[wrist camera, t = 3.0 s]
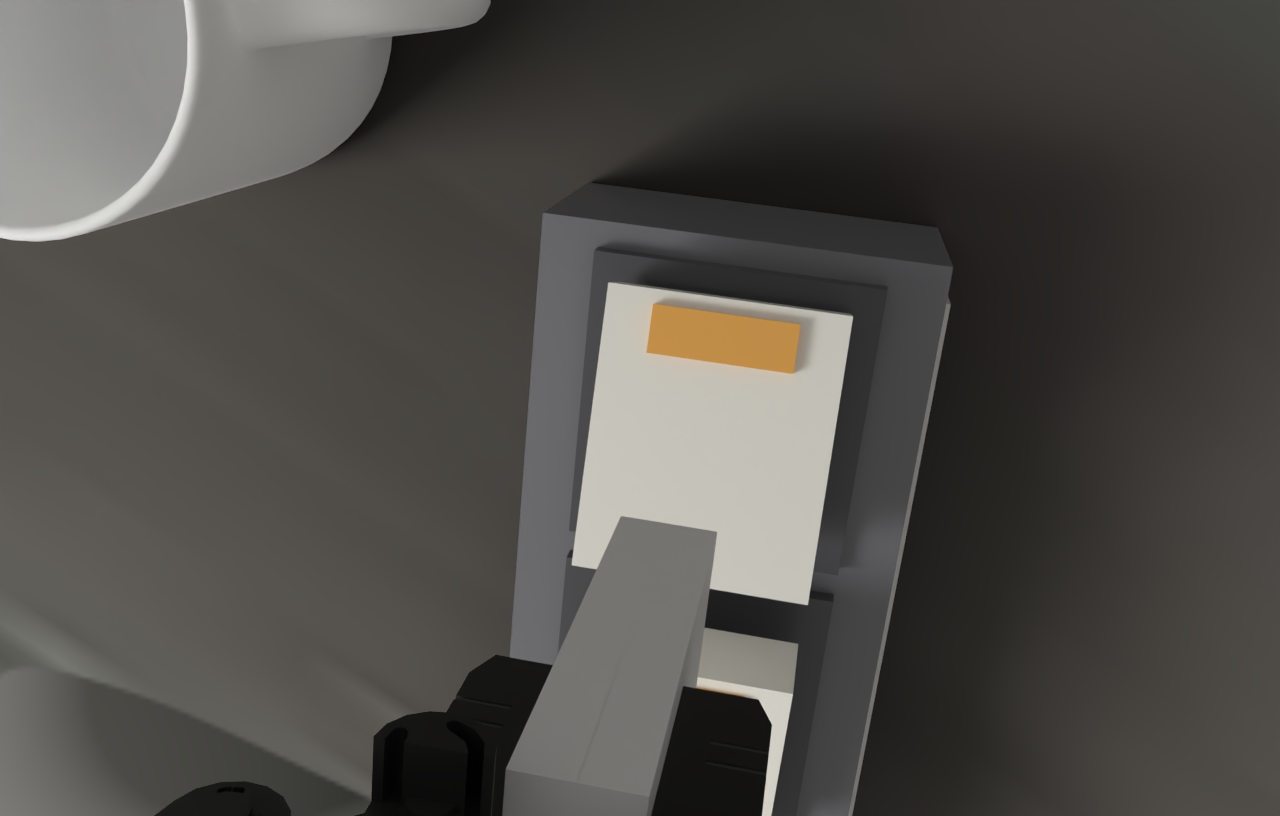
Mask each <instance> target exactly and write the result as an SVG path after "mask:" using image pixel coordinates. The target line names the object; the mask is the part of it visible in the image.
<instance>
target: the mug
mask: <svg viewBox="0 0 1280 816" xmlns="http://www.w3.org/2000/svg"><path fill="white" fill-rule="evenodd" d="M490 4H491V0H0V238H4V239H10V240H20V241H49V240H59V239H65V238H69V237H73V236H77V235H82V234H86V233H89V232H93V231H96V230H99V229H103V228H106V227H110V226H113V225H116V224H120V223H123V222H127V221H130V220H134V219H137V218H140V217H144V216H147V215H151V214H154V213H157V212H161V211H164V210H168V209H171V208H175V207H178V206H181V205H185V204H188V203H192V202H195V201H198V200H202V199H205V198H209V197H212V196H216V195H219V194H222V193H226V192H229V191H233V190H236V189H239V188H243V187H246V186H250V185H253V184H257V183H260V182H263V181H267V180H270V179H274V178H277V177H280V176H283V175H286V174H289V173H292V172H294V171H297V170H299V169H301V168H304V167H306V166H308V165H311V164H313V163H315V162H316V161H318V160H320V159H321V158H323V157H325V156H326V155H328V154H330V153H331V152H332V151H333V150H334V149H336V148H337V147H338V146H339V145H340V144H342V143H343V142H344V141H345V140H347V139H348V138H349V137H350V136H351V134H352V133H353V132H354V131H355V130H356V129H357V128H358V127H359V126H360V124H361V123H362V122H363V120H364V119H365V117H366V116H367V114H368V113H369V111H370V110H371V108H372V107H373V105H374V102H375V100H376V98H377V96H378V94H379V92H380V90H381V87H382V84H383V81H384V78H385V75H386V72H387V68H388V63H389V58H390V53H391V45H392V36H400V35H409V34H417V33H425V32H432V31H440V30H447V29H453V28H459V27H464V26H467V25H470V24H473V23H476V22H477V21H478V20H480V19H481V18H482V17H483V16H484V15H485V14H486V12H487V10H488V8H489V6H490Z"/></svg>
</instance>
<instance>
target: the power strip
mask: <svg viewBox="0 0 1280 816" xmlns="http://www.w3.org/2000/svg"><path fill="white" fill-rule="evenodd" d="M952 272H953V265H952V263H951V260H950V258H949V255H948V252H947V250H946V247H945V245H944V242H943V240H942V237H941V235H940V232H939V230H938V227H931V226H923V225H915V224H907V223H900V222H892V221H884V220H876V219H869V218H861V217H853V216H845V215H838V214H830V213H822V212H814V211H806V210H799V209H791V208H783V207H775V206H768V205H760V204H752V203H744V202H737V201H729V200H721V199H713V198H706V197H698V196H690V195H682V194H675V193H667V192H659V191H651V190H643V189H636V188H628V187H620V186H612V185H605V184H597V183H587V184H586V185H584V186H583V187H581V188H580V189H578V190H577V191H575V192H574V193H572V194H571V195H569V196H568V197H566V198H565V199H563V200H562V201H560V202H559V203H557V204H556V205H554V206H552V207H551V208H549V209H548V210H546V211H545V212H543V219H542V232H541V245H540V259H539V272H538V286H537V299H536V312H535V326H534V339H533V352H532V366H531V379H530V392H529V406H528V419H527V432H526V446H525V459H524V472H523V486H522V499H521V512H520V526H519V539H518V552H517V566H516V579H515V592H514V606H513V619H512V633H511V646H510V658H516V659H521V660H527V661H533V662H538V663H544V664H549V665H553V664H554V662H555V660H556V658H557V655H558V653H559V651H560V649H561V647H562V645H563V642H564V640H565V638H566V636H567V634H568V631H569V629H570V627H571V625H572V623H573V620H574V618H575V616H576V614H577V612H578V609H579V607H580V605H581V603H582V601H583V598H584V596H585V594H586V592H587V590H588V587H589V585H590V583H591V581H592V579H593V576H594V574H595V572H596V570H597V569H591V568H585V567H579V566H573V565H572V557H573V550H574V542H575V534H576V527H577V519H578V511H579V504H580V496H581V488H582V481H583V473H584V465H585V458H586V450H587V442H588V435H589V427H590V419H591V412H592V404H593V396H594V389H595V381H596V373H597V366H598V358H599V350H600V343H601V335H602V327H603V319H604V312H605V304H606V296H607V289H608V282H625V283H632V284H640V285H647V286H654V287H661V288H668V289H676V290H683V291H690V292H697V293H704V294H712V295H719V296H726V297H733V298H740V299H748V300H755V301H762V302H769V303H776V304H784V305H791V306H798V307H805V308H812V309H820V310H827V311H834V312H841V313H848V314H851V315H852V316H853V321H852V327H851V334H850V340H849V346H848V353H847V359H846V365H845V372H844V378H843V384H842V391H841V397H840V404H839V410H838V416H837V423H836V429H835V435H834V442H833V448H832V455H831V461H830V467H829V474H828V480H827V486H826V493H825V499H824V505H823V512H822V518H821V525H820V531H819V537H818V544H817V550H816V556H815V563H814V569H813V575H812V582H811V588H810V595H809V601H808V605H803V604H797V603H791V602H785V601H779V600H773V599H768V598H762V597H756V596H750V595H744V594H738V593H732V592H726V591H720V590H714V589H710V590H709V597H708V605H707V612H706V620H705V627H704V628H709V629H715V630H721V631H727V632H733V633H738V634H744V635H750V636H756V637H761V638H767V639H773V640H779V641H784V642H790V643H796V644H798V652H797V661H796V671H795V680H794V690H793V697H792V703H791V708H790V714H789V719H788V725H787V731H786V736H785V742H784V747H783V753H782V759H781V764H780V770H779V775H778V781H777V787H776V792H775V798H774V803H773V809H772V814H771V816H852V814H853V809H854V804H855V798H856V793H857V788H858V783H859V778H860V772H861V767H862V762H863V757H864V752H865V746H866V741H867V736H868V731H869V726H870V721H871V715H872V710H873V705H874V700H875V695H876V689H877V684H878V679H879V674H880V669H881V664H882V658H883V653H884V648H885V643H886V638H887V632H888V627H889V622H890V617H891V612H892V607H893V601H894V596H895V591H896V586H897V581H898V575H899V570H900V565H901V560H902V555H903V550H904V544H905V539H906V534H907V529H908V524H909V518H910V513H911V508H912V503H913V498H914V492H915V487H916V482H917V477H918V472H919V467H920V461H921V456H922V451H923V446H924V441H925V435H926V430H927V425H928V420H929V415H930V410H931V404H932V399H933V394H934V389H935V384H936V378H937V373H938V368H939V363H940V358H941V353H942V347H943V342H944V337H945V332H946V327H947V321H948V316H949V311H950V306H951V303H950V300H949V297H948V293H949V287H950V282H951V277H952Z"/></svg>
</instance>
